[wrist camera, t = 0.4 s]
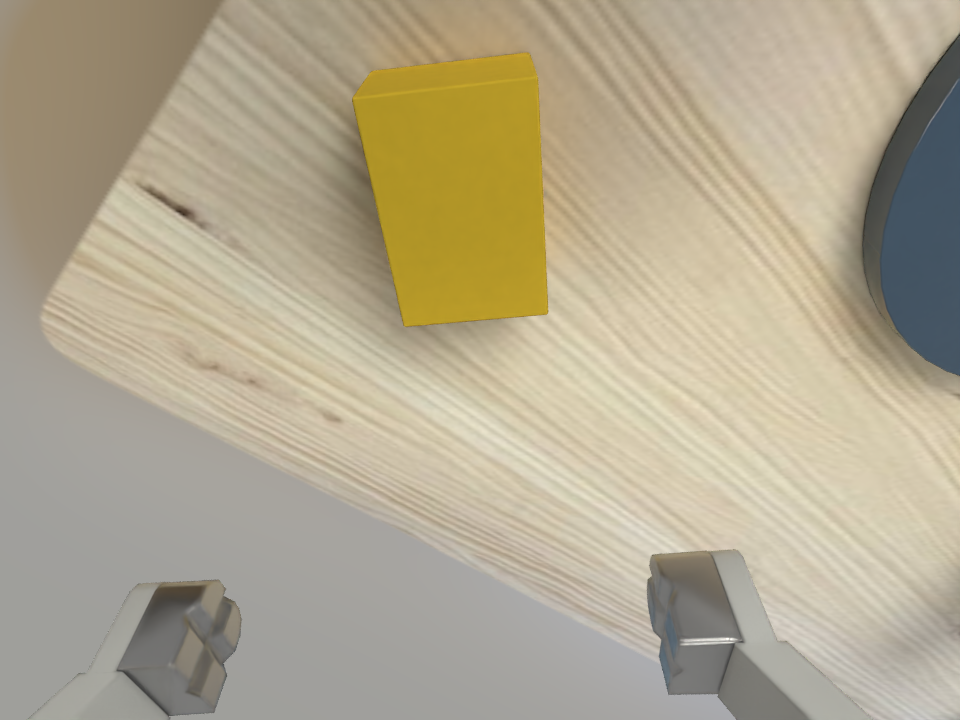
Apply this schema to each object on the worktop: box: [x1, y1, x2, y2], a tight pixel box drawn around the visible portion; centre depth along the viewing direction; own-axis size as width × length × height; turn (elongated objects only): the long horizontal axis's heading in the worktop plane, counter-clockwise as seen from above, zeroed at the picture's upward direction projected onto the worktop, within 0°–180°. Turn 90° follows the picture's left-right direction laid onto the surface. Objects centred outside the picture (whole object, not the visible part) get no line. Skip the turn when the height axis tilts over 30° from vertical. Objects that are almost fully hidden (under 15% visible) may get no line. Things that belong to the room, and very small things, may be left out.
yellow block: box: [352, 52, 548, 327], centre depth 23 cm, size 9×6×4 cm, turn 6°
